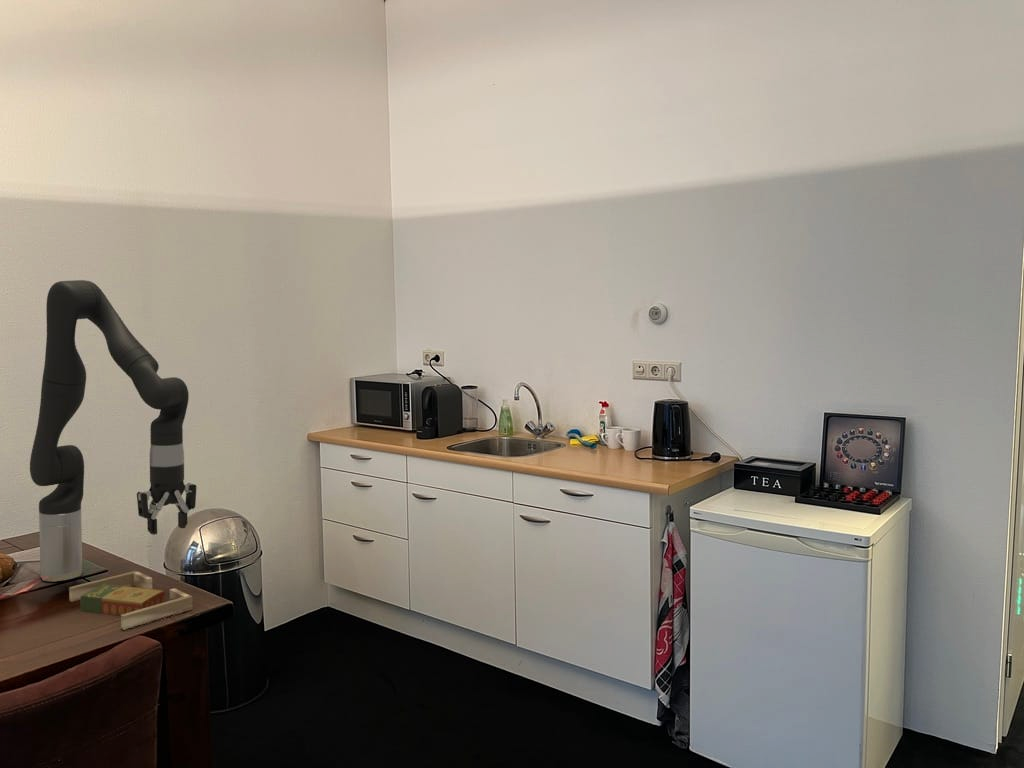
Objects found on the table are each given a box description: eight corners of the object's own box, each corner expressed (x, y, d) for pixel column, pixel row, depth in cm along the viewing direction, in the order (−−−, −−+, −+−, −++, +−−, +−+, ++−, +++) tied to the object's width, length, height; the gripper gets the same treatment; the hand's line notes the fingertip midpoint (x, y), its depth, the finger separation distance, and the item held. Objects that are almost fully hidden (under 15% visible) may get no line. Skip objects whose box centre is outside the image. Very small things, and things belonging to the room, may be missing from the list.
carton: (142, 620, 181) (141, 602, 180) (79, 612, 184) (78, 594, 184) (165, 607, 189) (165, 589, 189) (104, 599, 192) (104, 581, 192)
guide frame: (69, 600, 190) (69, 587, 189) (136, 583, 202) (136, 570, 202) (123, 630, 174) (123, 616, 174) (192, 609, 187) (192, 596, 187)
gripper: (186, 455, 200) (187, 521, 202) (129, 464, 189) (130, 533, 191) (203, 460, 196) (204, 527, 197) (145, 469, 184) (146, 540, 186)
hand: (167, 530), depth 194 cm, fingers open, 6 cm apart
